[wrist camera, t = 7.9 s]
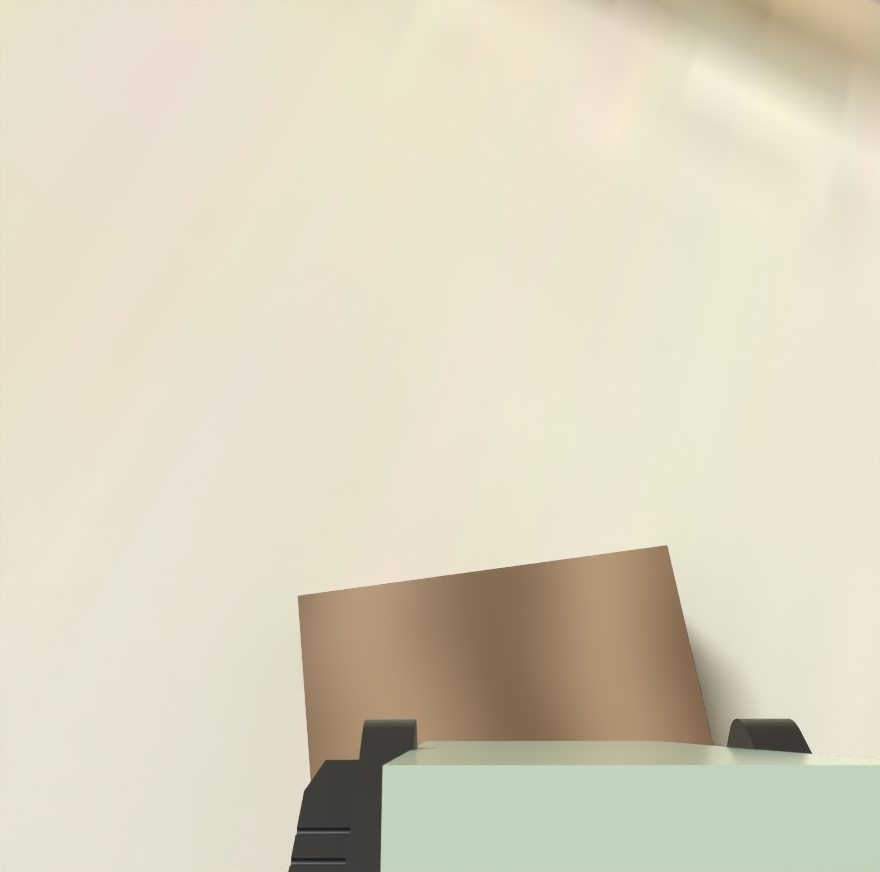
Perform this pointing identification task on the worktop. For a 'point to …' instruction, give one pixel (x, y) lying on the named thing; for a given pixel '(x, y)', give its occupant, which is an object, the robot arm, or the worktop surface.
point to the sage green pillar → (627, 809)
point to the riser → (505, 656)
